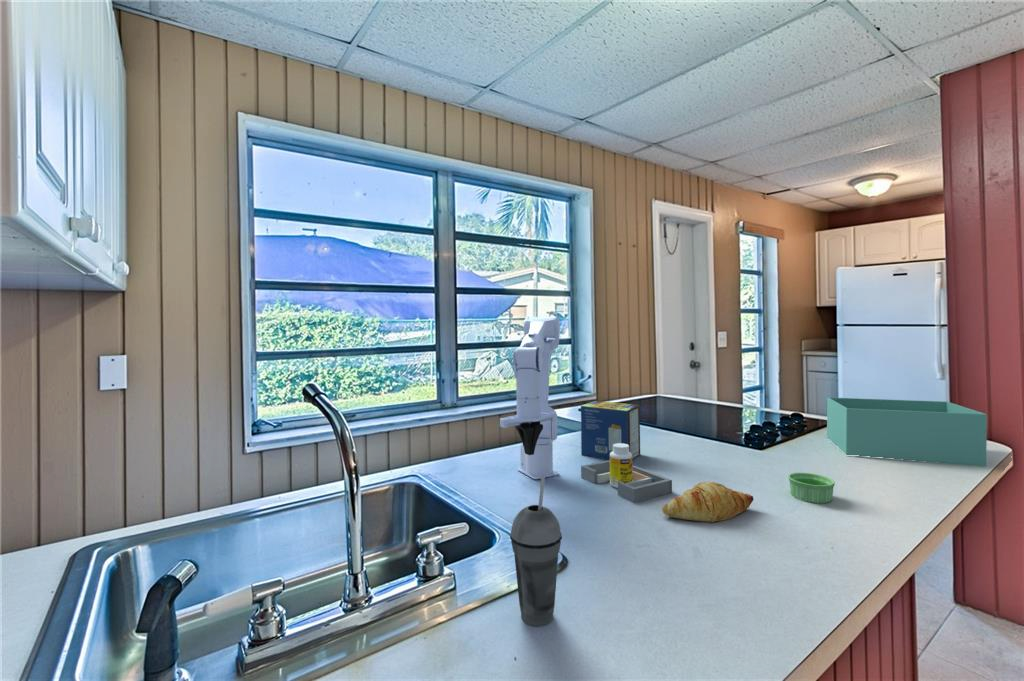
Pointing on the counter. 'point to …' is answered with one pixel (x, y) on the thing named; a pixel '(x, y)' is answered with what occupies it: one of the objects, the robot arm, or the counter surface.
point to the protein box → (609, 428)
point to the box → (908, 430)
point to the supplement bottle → (620, 464)
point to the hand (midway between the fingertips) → (529, 453)
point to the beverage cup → (536, 560)
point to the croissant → (708, 503)
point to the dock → (635, 490)
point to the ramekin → (811, 487)
